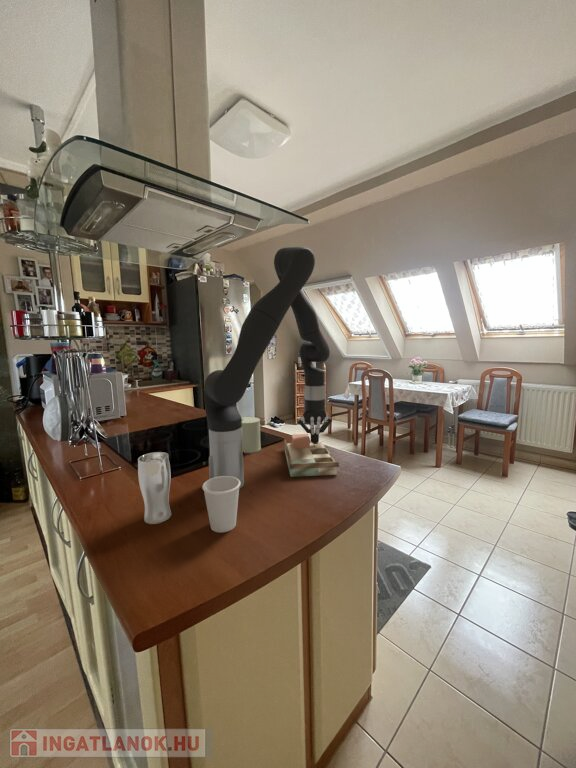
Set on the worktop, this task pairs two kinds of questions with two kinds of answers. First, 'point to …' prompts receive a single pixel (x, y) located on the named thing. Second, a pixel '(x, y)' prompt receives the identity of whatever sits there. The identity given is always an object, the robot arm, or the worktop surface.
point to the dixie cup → (222, 502)
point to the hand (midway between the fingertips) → (314, 443)
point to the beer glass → (155, 486)
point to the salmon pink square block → (300, 441)
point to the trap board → (310, 460)
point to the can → (251, 434)
